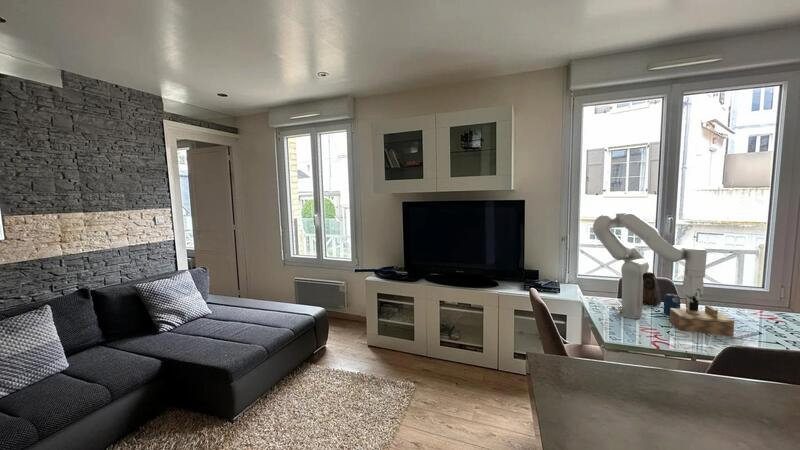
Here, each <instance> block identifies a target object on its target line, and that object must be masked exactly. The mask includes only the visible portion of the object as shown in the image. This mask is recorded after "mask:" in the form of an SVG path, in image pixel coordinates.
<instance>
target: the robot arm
mask: <svg viewBox="0 0 800 450" xmlns="http://www.w3.org/2000/svg"><path fill="white" fill-rule="evenodd" d="M592 224H593V225H592V230H593V234H594V235H595V236H596V238H597V239H598V240H599V242H600V243H601V244H602V245H603V247H604V248H605V249H606V251H608V252H609V254H610V255H611V257H612V258H613V259H615V260H617V261H623V262H624V263H623V264H622V265H621V304H619V306H614V305H612V306H611V307H610V308H611V310H612V311H613V310H614V311H615V312H617V314H618V315H619V314H620V315H619V316H621V317H623V316H624V318H627V319H632V320H641V318H643V319H644V318H645V317H647V316H646V313H643V304H644V303H643V277H642V275H643V274H644V273H646V272H647V271H648V272H649V268H650V266H649V265H650V264H649V262H648V260H646V258H645V257H644V256H643V254H642V253H641V252H640V251H639V250H638V249H637V248H636V247H635V245H633V244H632V243H630V242H626V241H624V242H623V241H622V240H621V239H620V238H619V237H618V236H617V235H616V233H615V232H614V231H612V229H616V228H617V229H618V228H625V229H626V230H628V231H629V232H630V233H632V234H634V236H636V237H637V238H639V239H640V240H642V242H644V243H645V245H646V246H647V247H648V248H649V249H650V250H651V251H653V252H654V253H655V254H657V255H658V256H659V257H661V258H662V259H663V260H665V261H667V262H671V263H677V262H680V261H684V271H683V273H684V275H683V280H682V287H681V288H682V289H681V291H682V293H684V294H685V305H686V304H687V295H688V296H690V297H691V302H690V306H689V310H692V311H698V310H699V304H700V301H701V300H702V298H703V296H704V279H705V278H706V268H707V255H708V254H707V253H708V251H707V250H706V249H704V248H701V247H688V246H685V245H678V244H677V245H676V244H675V245H672V244H671V243H669V242H668V241H667V240H666V239H664V238H663V237H662V236H661V235H660V232H659V230H658V229H657V228H656V227H654V226H653V225H651V223H648V222H647V221H646V220H644V217H643V215H642V214H640V213H639V212H625V213H624V212H620V213H607V214H602V215H599V216H598V217H596V219H595V220H594V222H593V223H592ZM693 298H694V299H693Z"/></svg>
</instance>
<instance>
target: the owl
mask: <svg viewBox="0 0 800 450" xmlns="http://www.w3.org/2000/svg"><path fill="white" fill-rule="evenodd" d="M642 277H643V304H644V303H645V304H644V305H646V304H648V306H651V305H653V307H658V306H659V305H661V304H660V303H662V295H661V290H660V286H659V284H658V283H659V282H658V279H657V277H656V275H655V273H653V272H652V271H651V272H650V271H649V270H648V271H647V272H646V273H644V274H643V275H642Z"/></svg>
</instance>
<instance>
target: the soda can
mask: <svg viewBox="0 0 800 450" xmlns="http://www.w3.org/2000/svg"><path fill="white" fill-rule="evenodd" d="M670 308H677V309H681V297H680V295H679V294H676V293H672V292H668V293H667V292H666V293H665V294H664V296H663V314H664V315H666V316H670Z"/></svg>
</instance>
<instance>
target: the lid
mask: <svg viewBox="0 0 800 450" xmlns="http://www.w3.org/2000/svg"><path fill="white" fill-rule="evenodd" d="M670 310H671V311H672V312H674V313H675V314H676V315H677V316H678V317H680V318H686V319H697V320H707V321H718V322H729V323H734V324H735V320H734V319H732V318H730V317H729V316H727V315H726V314H724V313H723V312H720V311H718V310H717V309H715V308H714V307H712V306H710V305H705V306H704V310H701V309H698V311H697V315H691V314H688V313H687V312H686V308H680V309H677V308H670Z"/></svg>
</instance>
